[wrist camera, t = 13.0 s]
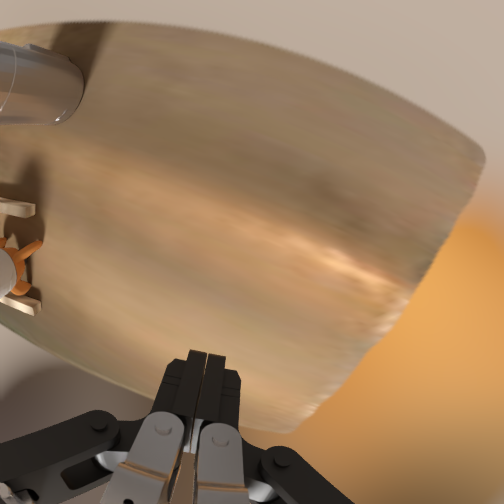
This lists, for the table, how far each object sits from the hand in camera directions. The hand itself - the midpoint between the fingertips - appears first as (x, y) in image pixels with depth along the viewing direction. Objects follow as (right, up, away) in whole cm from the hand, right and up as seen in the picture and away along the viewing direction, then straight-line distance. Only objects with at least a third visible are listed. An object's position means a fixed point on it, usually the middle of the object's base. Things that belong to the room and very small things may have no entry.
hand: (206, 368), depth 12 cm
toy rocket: (-34, +5, +28) cm, 44 cm away
